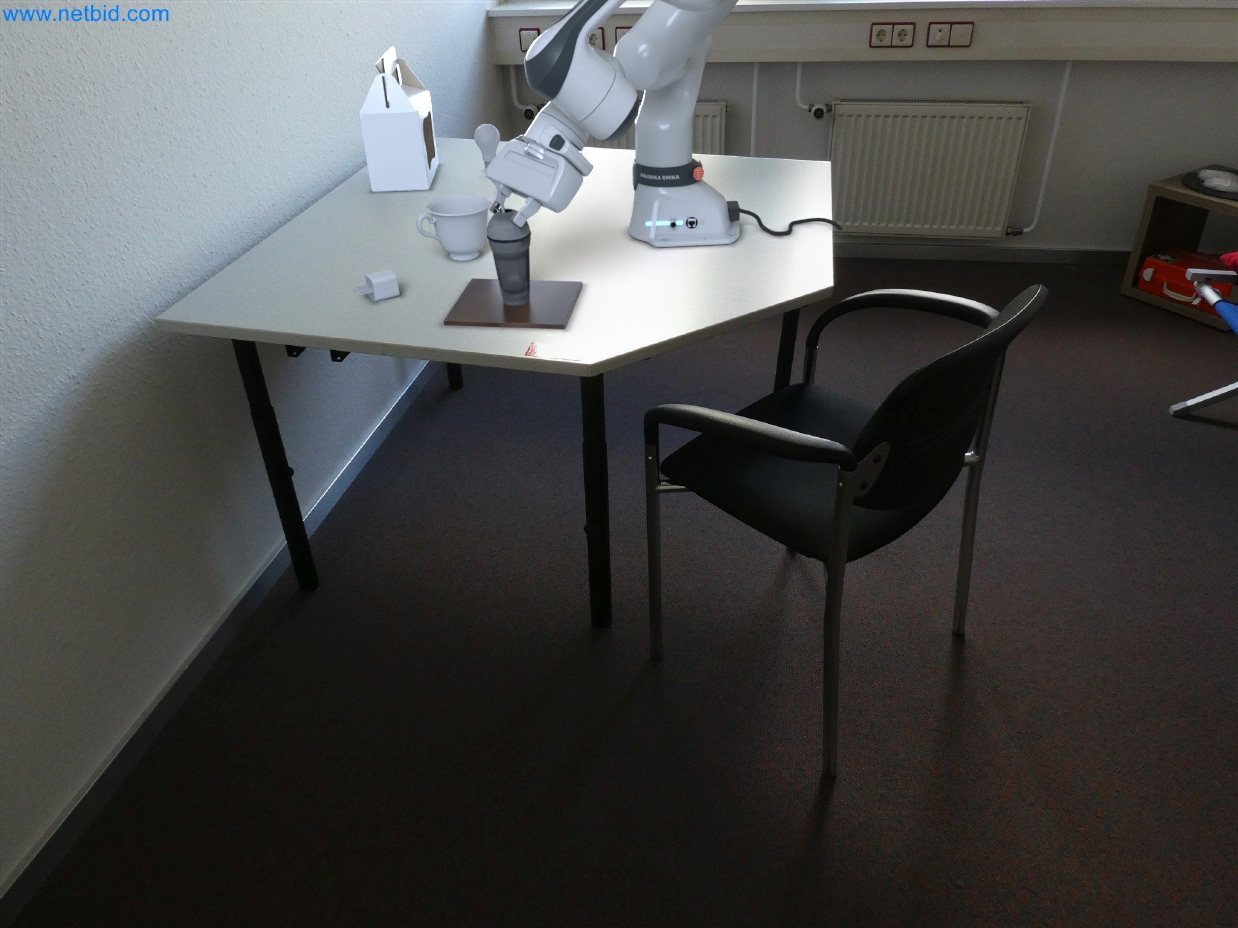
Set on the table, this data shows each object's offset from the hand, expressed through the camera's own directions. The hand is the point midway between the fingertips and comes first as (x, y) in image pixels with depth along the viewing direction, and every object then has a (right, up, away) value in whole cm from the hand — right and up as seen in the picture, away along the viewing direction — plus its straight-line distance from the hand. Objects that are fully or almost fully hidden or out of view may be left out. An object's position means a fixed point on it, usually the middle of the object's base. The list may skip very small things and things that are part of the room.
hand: (504, 218), depth 145 cm
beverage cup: (+1, -12, +8) cm, 15 cm away
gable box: (-33, +30, +73) cm, 86 cm away
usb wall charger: (-24, -11, +13) cm, 29 cm away
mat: (+1, -12, +9) cm, 15 cm away
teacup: (-12, 0, +28) cm, 31 cm away
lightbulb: (-13, +32, +77) cm, 84 cm away
